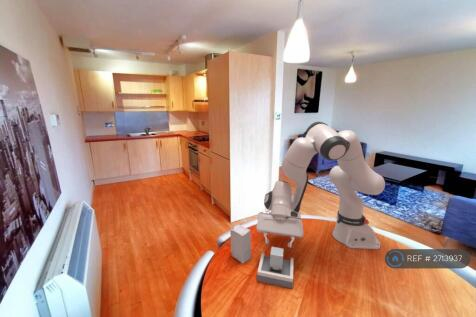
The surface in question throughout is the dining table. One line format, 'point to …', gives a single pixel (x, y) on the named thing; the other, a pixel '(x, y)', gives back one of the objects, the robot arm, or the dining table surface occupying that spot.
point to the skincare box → (241, 243)
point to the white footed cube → (276, 259)
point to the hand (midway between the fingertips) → (278, 245)
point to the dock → (275, 272)
